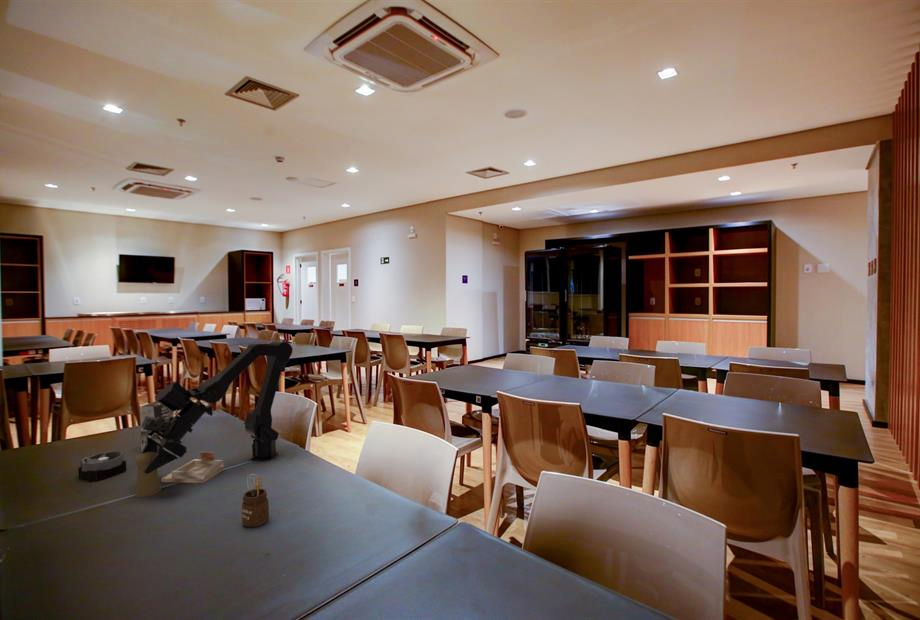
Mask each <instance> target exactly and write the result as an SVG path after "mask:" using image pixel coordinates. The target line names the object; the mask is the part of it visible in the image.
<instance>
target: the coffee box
mask: <svg viewBox="0 0 920 620" xmlns="http://www.w3.org/2000/svg"><path fill="white" fill-rule="evenodd" d="M139 413H140V419H139V420H140V421H139V422H140V443H141V444H140V448H141V450H140V451H141V452H142V450H143V449H144V447H145V445H146V438H145V435H146V436H149V435H147V434H146V433H145V432H146V431H147V430H144V429H143V427H141V425H142V423H143V421H144V419H145V417H146V416H150V417H155V418H157V417H160V418H164V419H165V420H167V419H168V418H169V417H171V416H172V417H175V411H171V410H169V409H168V408H166V407H165V406H163V405H162V404H160V403H159V402H157V401H156V400H155V401H153V402H150V403H147V404H144V405H141V406H139Z"/></svg>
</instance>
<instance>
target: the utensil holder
mask: <svg viewBox="0 0 920 620" xmlns="http://www.w3.org/2000/svg"><path fill="white" fill-rule="evenodd" d="M254 475H255V476H254ZM251 476H253V479H254V483H253V485H254V489H253V488H252V489H249V490H248V491H246V492H244V493H243V495H242V503H241V523H242V525H243V526H244V527H247V528H255V527H259V526H261V525H264V524H265V523H266V522H268V520H269V518H270V511H269V510H270V507H269V506H270V504H269V498H268V497H267V495H268V494H267V490H266V489H265V488H262V487H263V475H260V476H258V477H257V474H255V473H251V474H249V475H247V479H246V480H247V481H246V483H247V484H249V478H250V477H251ZM249 485H250V486H249ZM249 485H247V488H250V487H253V486H252V484H249Z"/></svg>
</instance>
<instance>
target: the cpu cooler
mask: <svg viewBox="0 0 920 620" xmlns="http://www.w3.org/2000/svg"><path fill="white" fill-rule="evenodd" d="M79 465H80V467H78V468H77V469H78V470H77V471H78V479H80V480H84V481H87V482H90V483H93V482H94V483H95V482H99V481H102V480H106V479H108V478H112V477H114V476H117V475H120V474H123V473H126V471H127V460H125V459H124V452H122V451H105V452H101V453H96V454H93V455H90V456H86V457H83V458H82V459H79Z"/></svg>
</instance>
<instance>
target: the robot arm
mask: <svg viewBox="0 0 920 620" xmlns="http://www.w3.org/2000/svg"><path fill="white" fill-rule="evenodd" d="M292 354H293V347H292V345H291V343H289V342H287V341H279V340H274V341H272V342H270V343H250V344H248V346H247V347H246V348H245V349H244V350H243V351H242V352H241V353H240V354H239V355H238V356H236V357H235V358H234V359H233V360H231V362H230V363H229V364H228V365H227V366H225V368H223V369H222V370H221V371H220V372H219V373H217V374H215V375H214V376H213V375H212V376H211V377H209V378H207V379H206V380H205V381H202V382H201V383H200V384H199V385H198V386H197V387H194V388H191V389H186V388H184V387H183V386H182V385H181V384H180V383H179V382H177V381H172V382H171V383H170V384H168V385H166V386H165V387H164V388H161V389H160V391H159V392H158V393H157V394H156V396H155V398H154V400H155V401H157V402H159V403H160V404H162V405H163V406H165V407H166V408H168V409H169V410H171V411H174V412H176V411H178V412H177V413H176V414H174V417H172V416H171V417H169V418H168V419H167V420H165V419H164V418H160V417H157V418H155V417H150V416H146V417H145V419H144V421H143V423H142V425H141V424H140V428H141V427H143V429H144V430H147V431H146V432H145V433H146V434H147V435H149V436H146V435H145V438H146V445H145V447H144V449H143V450H142V451H141V452H140V454H142V453H146V452H155V453H157V454H156V455H155V456H154V458H153V459H152V461H151V462H150V463H149V465H148V466H147V468H146V469H145V471H144V472H145V473H146V474H148V473H150V472H152V471H154V470H156V469H157V470H158V469H159V468H161V467H164V466H165V465H166V464H169V463H171V462H173V461H175V460H178V459H179V458H180V459H181V458H183V457H184V455H185V454H186V453H187V447H186V446H185V445H184V444H183V441H182V440H183V438H184V437H185V436H186V435H187V434H188V433H192V432H193V431H194V429H193V427H194V426H195V425H196V423H198V421H199V420H200V419H201V418H202V417H203V416H204V414H207V415H209V416H213V415H214V414H213V406H212V405H210V404H217V403H218V402H219V401H221V400H222V398H223V397H224V395H225V394H227V392H228V390H229V387H230V386H231V384H232V383H233V382H234V381H235V379H237V378H238V377H239V376H240V375H241V374H242V373H243V372H244V371H245V370H247V368H248V367H249V366H250V365H251V364H252V363H253V362H254V361H256V360H257V359H258V358H259V357H260V356H265V357H266V358H265V359H266V364H267V367H266V371H265V374H264V378H263V382H262V385H261V388H260V391H259V394H258V395H259V396H258V398H257V402H256V406H255V408H253V410H252V412H249V411H247V413H246V418H245V420H244V422H243V425H245V426H244V430H245V432H246V433H247V434H248V435H250V437H251V439H253V441H252V444H251V451H252V452H251V453H252V455H251V456H252V457H251V458H250V460H251V461H270V460H271V459H273V458H275V457H276V456H277V455H279V451H277V442H276V441H277V440H278V437H279V435H280V432H278V431H277V430H276V429H274V428H273V427H272V424H273V416H272V406H273V403H274V400H275V396H276V393H277V389H278V385H279V381H280V379H281V375H282V371H283V369H284V367H285V366H286V365H287V363H288V362H289V360H290V358H291V356H292ZM192 399H194V400H197V401H193V400H192ZM201 401H202V402H201ZM203 402H205V403H207V404H209V405H206V404H204V403H203Z"/></svg>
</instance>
